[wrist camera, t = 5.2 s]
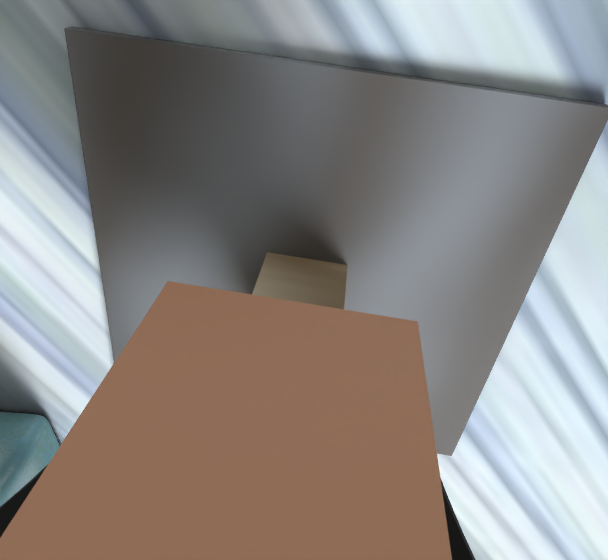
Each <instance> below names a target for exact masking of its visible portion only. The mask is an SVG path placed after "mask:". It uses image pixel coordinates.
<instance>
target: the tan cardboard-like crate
mask: <svg viewBox="0 0 608 560" xmlns="http://www.w3.org/2000/svg"><path fill="white" fill-rule="evenodd" d="M0 560H452V556H451V549H450V542H449V535H448V528H447V521H446V514H445V507H444V500H443V493H442V486H441V480H440V473H439V466H438V459H437V452H436V445H435V438H434V431H433V424H432V417H431V410H430V403H429V396H428V389H427V382H426V375H425V368H424V361H423V354H422V347H421V340H420V334H419V327H418V321H412V320H406V319H400V318H394V317H387V316H381V315H375V314H369V313H363V312H357V311H350V310H344V309H338V308H332V307H326V306H320V305H313V304H307V303H301V302H295V301H289V300H282V299H276V298H270V297H264V296H258V295H252V294H245V293H239V292H233V291H227V290H221V289H214V288H208V287H202V286H196V285H190V284H184V283H177V282H171V281H167V283H166V284H165V286H164V288H163V289H162V291H161V292H160V294H159V295H158V297H157V298H156V300H155V301H154V303H153V304H152V306H151V307H150V309H149V311H148V312H147V314H146V315H145V317H144V318H143V320H142V321H141V323H140V324H139V326H138V327H137V329H136V331H135V332H134V334H133V335H132V337H131V338H130V340H129V341H128V343H127V344H126V346H125V347H124V349H123V350H122V352H121V354H120V355H119V357H118V358H117V360H116V361H115V363H114V364H113V366H112V367H111V369H110V370H109V372H108V373H107V375H106V377H105V378H104V380H103V381H102V383H101V384H100V386H99V387H98V389H97V390H96V392H95V393H94V395H93V396H92V398H91V400H90V401H89V403H88V404H87V406H86V407H85V409H84V410H83V412H82V413H81V415H80V416H79V418H78V419H77V421H76V423H75V424H74V426H73V427H72V429H71V430H70V432H69V433H68V435H67V436H66V438H65V439H64V441H63V442H62V444H61V446H60V447H59V449H58V450H57V452H56V453H55V455H54V456H53V458H52V459H51V461H50V462H49V464H48V465H47V467H46V469H45V470H44V472H43V473H42V475H41V476H40V478H39V479H38V481H37V482H36V484H35V485H34V487H33V489H32V490H31V492H30V493H29V495H28V496H27V498H26V499H25V501H24V502H23V504H22V505H21V507H20V508H19V510H18V512H17V513H16V515H15V516H14V518H13V519H12V521H11V522H10V524H9V525H8V527H7V528H6V530H5V531H4V533H3V535H2V536H1V538H0Z"/></svg>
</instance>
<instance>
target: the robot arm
mask: <svg viewBox="0 0 608 560" xmlns="http://www.w3.org/2000/svg"><path fill="white" fill-rule="evenodd" d="M46 467H47V466H45V467H44V468H43V469H42V470H41V471H40V472H39V473H38V474H37V475H36V476H35V477H34V478H33V479H31V480H30V481H29V482H28V483H27V484H26V485H25V486H24V487H23V488H21V489H20V490H19V491H18V492H17V493H16V494H14V495H13V496H12V497H11V498H10V499H9V500H7V501H6V502H5V503H4V504H3V505H2V506H0V538H1V536H2V535H3V533H4V531H5V530H6V528H7V527H8V525H9V524H10V522H11V521H12V519H13V518H14V516H15V515H16V513H17V512H18V510H19V508H20V507H21V505H22V504H23V502H24V501H25V499H26V498H27V496H28V495H29V493H30V492H31V490H32V489H33V487H34V485H35V484H36V482H37V481H38V479H39V478H40V476H41V475H42V473H43V472H44V470H45V469H46ZM440 480H441V478H440ZM441 486H442V493H443V500H444V507H445V514H446V521H447V528H448V535H449V542H450V549H451V556H452V560H475V558H474V556H473V553H472V551H471V549H470V547H469V545H468V543H467V541H466V538H465V536H464V534H463V532H462V529H461V527H460V525H459V523H458V520H457V518H456V515H455V513H454V511H453V508H452V506H451V503H450V501H449V499H448V496H447V494H446V491H445V488H444V486H443V483H442V481H441Z"/></svg>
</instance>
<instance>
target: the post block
mask: <svg viewBox="0 0 608 560" xmlns="http://www.w3.org/2000/svg"><path fill="white" fill-rule="evenodd" d="M65 35H66V42H67V48H68V55H69V62H70V68H71V75H72V82H73V88H74V95H75V102H76V108H77V115H78V122H79V128H80V135H81V142H82V148H83V155H84V162H85V168H86V175H87V182H88V188H89V195H90V202H91V208H92V215H93V222H94V229H95V235H96V242H97V249H98V255H99V262H100V269H101V275H102V282H103V289H104V295H105V302H106V309H107V315H108V322H109V329H110V335H111V342H112V349H113V355H114V362H115V361H116V360H117V358H118V357H119V355H120V354H121V352H122V350H123V349H124V347H125V346H126V344H127V343H128V341H129V340H130V338H131V337H132V335H133V334H134V332H135V331H136V329H137V327H138V326H139V324H140V323H141V321H142V320H143V318H144V317H145V315H146V314H147V312H148V311H149V309H150V307H151V306H152V304H153V303H154V301H155V300H156V298H157V297H158V295H159V294H160V292H161V291H162V289H163V288H164V286H165V284H166V283H167V281H171V282H177V283H184V284H190V285H196V286H202V287H208V288H214V289H221V290H227V291H233V292H239V293H245V294H252V295H258V296H264V297H270V298H276V299H282V300H289V301H295V302H301V303H307V304H313V305H320V306H326V307H332V308H338V309H344V310H350V311H357V312H363V313H369V314H375V315H381V316H387V317H394V318H400V319H406V320H412V321H418V327H419V334H420V340H421V347H422V354H423V361H424V368H425V375H426V382H427V389H428V396H429V403H430V410H431V417H432V424H433V431H434V438H435V445H436V452H437V453H438V454H444V455H450V456H452V454H453V452H454V450H455V447H456V445H457V443H458V441H459V439H460V437H461V434H462V432H463V430H464V428H465V426H466V424H467V422H468V419H469V417H470V415H471V413H472V411H473V409H474V406H475V404H476V402H477V400H478V398H479V396H480V394H481V391H482V389H483V387H484V385H485V383H486V381H487V378H488V376H489V374H490V372H491V370H492V368H493V366H494V363H495V361H496V359H497V357H498V355H499V353H500V350H501V348H502V346H503V344H504V342H505V340H506V338H507V335H508V333H509V331H510V329H511V327H512V325H513V322H514V320H515V318H516V316H517V314H518V312H519V310H520V307H521V305H522V303H523V301H524V299H525V297H526V294H527V292H528V290H529V288H530V286H531V284H532V281H533V279H534V277H535V275H536V273H537V271H538V269H539V266H540V264H541V262H542V260H543V258H544V256H545V253H546V251H547V249H548V247H549V245H550V243H551V241H552V238H553V236H554V234H555V232H556V230H557V228H558V225H559V223H560V221H561V219H562V217H563V215H564V213H565V210H566V208H567V206H568V204H569V202H570V200H571V197H572V195H573V193H574V191H575V189H576V187H577V185H578V182H579V180H580V178H581V176H582V174H583V172H584V169H585V167H586V165H587V163H588V161H589V159H590V157H591V154H592V152H593V150H594V148H595V146H596V144H597V141H598V139H599V137H600V135H601V133H602V131H603V129H604V126H605V124H606V122H607V120H608V105H606V104H600V103H593V102H586V101H579V100H572V99H566V98H559V97H552V96H545V95H538V94H531V93H524V92H517V91H510V90H504V89H497V88H490V87H483V86H476V85H469V84H462V83H455V82H448V81H442V80H435V79H428V78H421V77H414V76H407V75H400V74H393V73H386V72H380V71H373V70H366V69H359V68H352V67H345V66H338V65H331V64H324V63H318V62H311V61H304V60H297V59H290V58H283V57H276V56H269V55H262V54H256V53H249V52H242V51H235V50H228V49H221V48H214V47H207V46H200V45H194V44H187V43H180V42H173V41H166V40H159V39H152V38H145V37H138V36H132V35H125V34H118V33H111V32H104V31H97V30H90V29H83V28H76V27H70V28H65Z"/></svg>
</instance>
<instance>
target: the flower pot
mask: <svg viewBox="0 0 608 560" xmlns="http://www.w3.org/2000/svg"><path fill="white" fill-rule="evenodd" d="M59 447H60V445H59V443H58V441H57V438H56V436H55V434H54V432H53V430H52V427H51V425H50V423H49V422H48V420H47V419H46V418H45V417H43V416H40V415H35V414H24V413H10V412H0V506H2V505H3V504H4V503H5V502H6V501H7V500H9V499H10V498H11V497H12V496H13V495H14V494H16V493H17V492H18V491H19V490H20V489H21V488H23V487H24V486H25V485H26V484H27V483H28V482H29V481H30V480H31V479H33V478H34V477H35V476H36V475H37V474H38V473H39V472H40V471H41V470H42V469H43V468H44V467H45V466H47V465H48V464H49V462H50V461H51V459H52V458H53V456H54V455H55V453H56V452H57V450H58V449H59Z"/></svg>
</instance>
